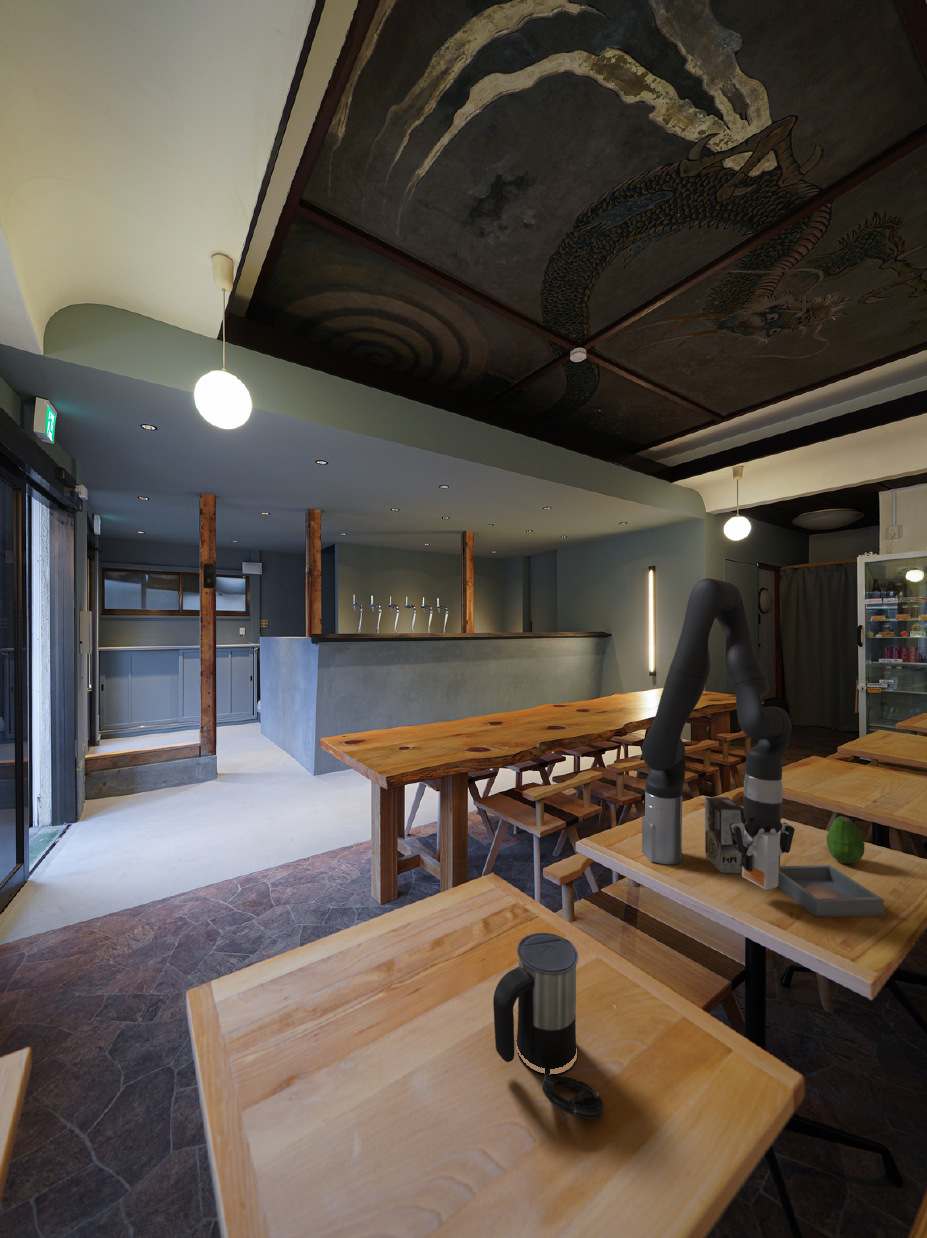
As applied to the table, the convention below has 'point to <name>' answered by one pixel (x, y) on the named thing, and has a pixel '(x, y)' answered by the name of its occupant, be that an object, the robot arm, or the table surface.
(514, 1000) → the milk frother
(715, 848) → the coffee box
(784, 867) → the shallow gray box
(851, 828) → the avocado
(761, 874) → the skincare box
